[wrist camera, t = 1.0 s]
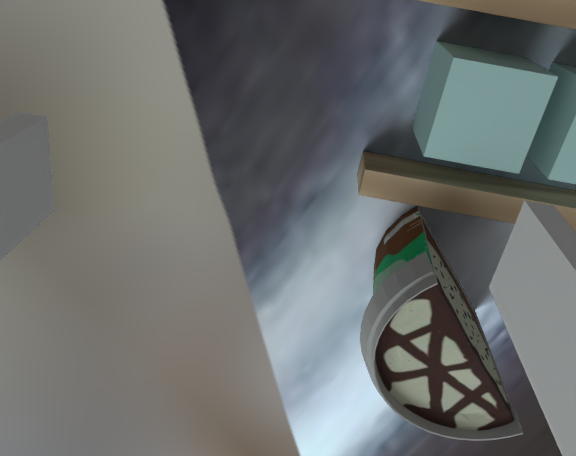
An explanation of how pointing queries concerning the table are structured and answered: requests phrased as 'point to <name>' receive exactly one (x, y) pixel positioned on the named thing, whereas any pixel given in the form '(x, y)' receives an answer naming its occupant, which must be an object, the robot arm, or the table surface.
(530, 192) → the guide channel
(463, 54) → the pale teal block
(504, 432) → the food container
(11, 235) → the robot arm
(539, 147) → the pale teal cube
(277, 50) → the table surface
